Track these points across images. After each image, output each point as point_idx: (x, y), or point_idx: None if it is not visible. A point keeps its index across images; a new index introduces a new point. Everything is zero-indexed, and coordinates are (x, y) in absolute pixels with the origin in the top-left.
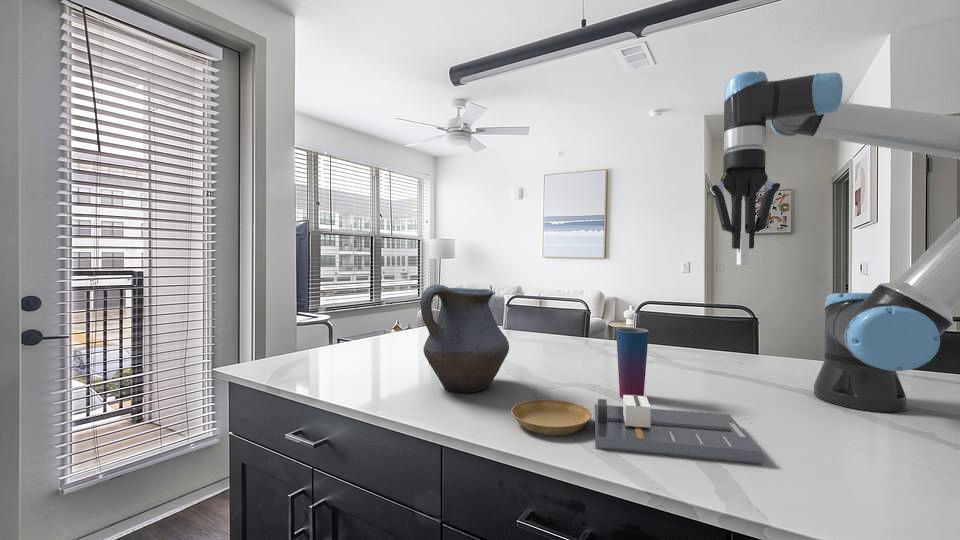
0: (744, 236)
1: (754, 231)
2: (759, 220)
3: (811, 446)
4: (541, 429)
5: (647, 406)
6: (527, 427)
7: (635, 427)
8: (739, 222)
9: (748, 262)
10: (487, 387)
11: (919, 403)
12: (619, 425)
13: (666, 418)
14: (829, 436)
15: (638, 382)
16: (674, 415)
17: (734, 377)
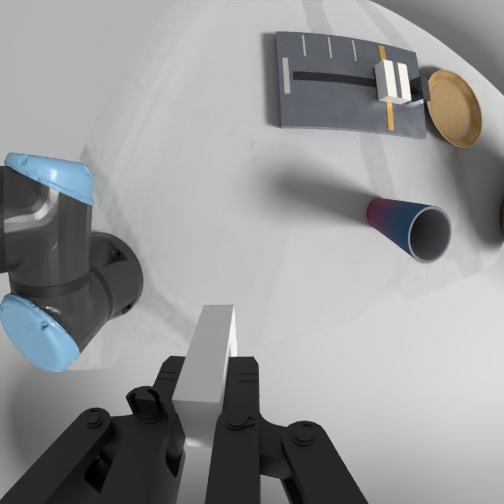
0: (202, 387)
1: (140, 391)
2: (92, 461)
3: (209, 89)
4: (453, 76)
5: (386, 61)
6: (462, 87)
7: None
8: (223, 467)
9: (203, 308)
10: (501, 210)
11: None
12: None
13: (357, 99)
14: (178, 126)
15: (385, 201)
16: (347, 110)
17: None
